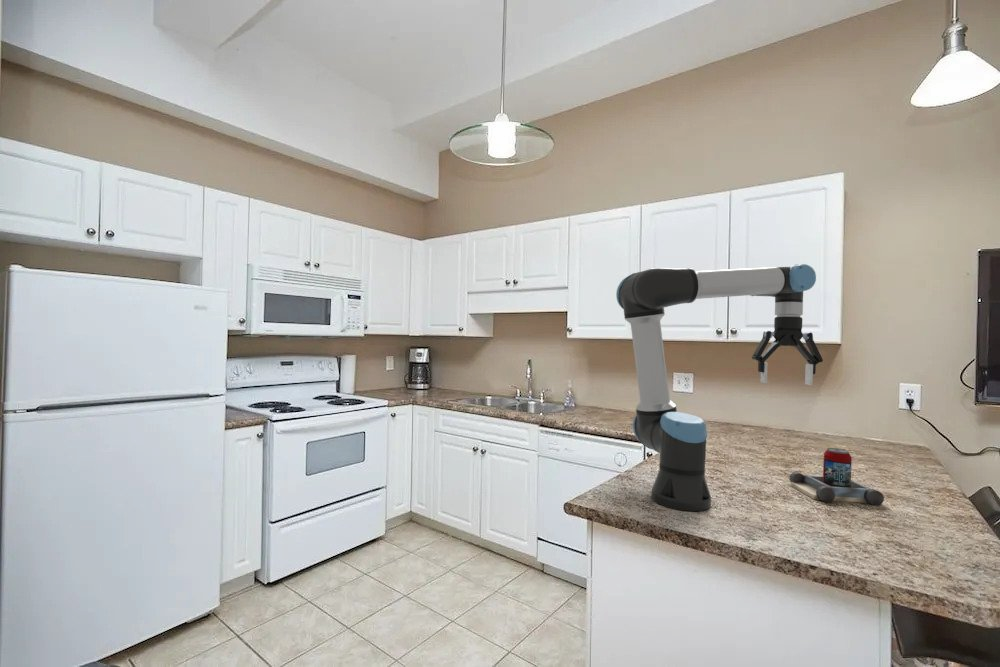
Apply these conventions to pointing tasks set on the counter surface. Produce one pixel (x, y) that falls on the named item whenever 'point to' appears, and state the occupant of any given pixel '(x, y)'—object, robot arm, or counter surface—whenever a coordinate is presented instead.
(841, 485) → the beverage can
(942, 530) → the counter surface
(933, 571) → the counter surface
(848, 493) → the chassis
